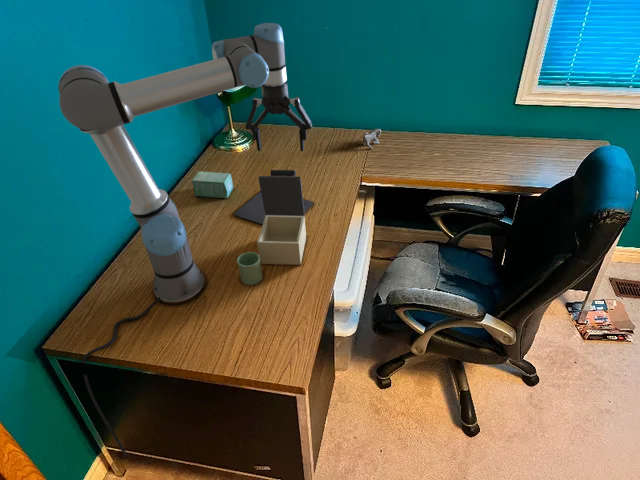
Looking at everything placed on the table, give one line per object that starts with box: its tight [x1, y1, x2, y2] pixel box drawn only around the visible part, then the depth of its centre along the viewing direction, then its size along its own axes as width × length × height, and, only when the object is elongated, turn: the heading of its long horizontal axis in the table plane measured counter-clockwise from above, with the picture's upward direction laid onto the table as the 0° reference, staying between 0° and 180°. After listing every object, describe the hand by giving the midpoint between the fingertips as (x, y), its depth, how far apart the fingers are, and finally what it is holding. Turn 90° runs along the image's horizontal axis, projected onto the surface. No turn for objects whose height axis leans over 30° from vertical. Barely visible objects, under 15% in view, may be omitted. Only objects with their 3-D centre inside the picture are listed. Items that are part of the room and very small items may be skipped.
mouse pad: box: [234, 191, 313, 226], centre depth 180 cm, size 23×20×1 cm
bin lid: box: [258, 169, 306, 216], centre depth 157 cm, size 16×13×7 cm
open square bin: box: [256, 215, 307, 266], centre depth 158 cm, size 15×13×9 cm
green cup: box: [236, 251, 264, 286], centre depth 148 cm, size 7×7×8 cm
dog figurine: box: [362, 128, 382, 150], centre depth 215 cm, size 12×6×7 cm, turn 138°
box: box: [191, 170, 234, 199], centre depth 189 cm, size 7×14×8 cm, turn 79°
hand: (281, 149), depth 152 cm, fingers open, 13 cm apart
